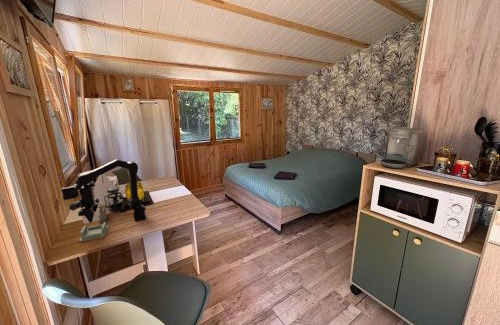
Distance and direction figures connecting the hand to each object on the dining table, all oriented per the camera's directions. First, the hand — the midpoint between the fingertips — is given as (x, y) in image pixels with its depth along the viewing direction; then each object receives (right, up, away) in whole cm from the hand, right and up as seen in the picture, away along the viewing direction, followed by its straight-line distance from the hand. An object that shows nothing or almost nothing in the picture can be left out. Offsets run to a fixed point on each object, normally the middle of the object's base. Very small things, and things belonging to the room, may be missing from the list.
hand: (92, 219), depth 124 cm
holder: (0, -9, +2) cm, 9 cm away
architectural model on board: (-7, -5, +20) cm, 22 cm away
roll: (0, -1, 0) cm, 1 cm away
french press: (-7, -2, +34) cm, 35 cm away
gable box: (-24, +2, +51) cm, 56 cm away
